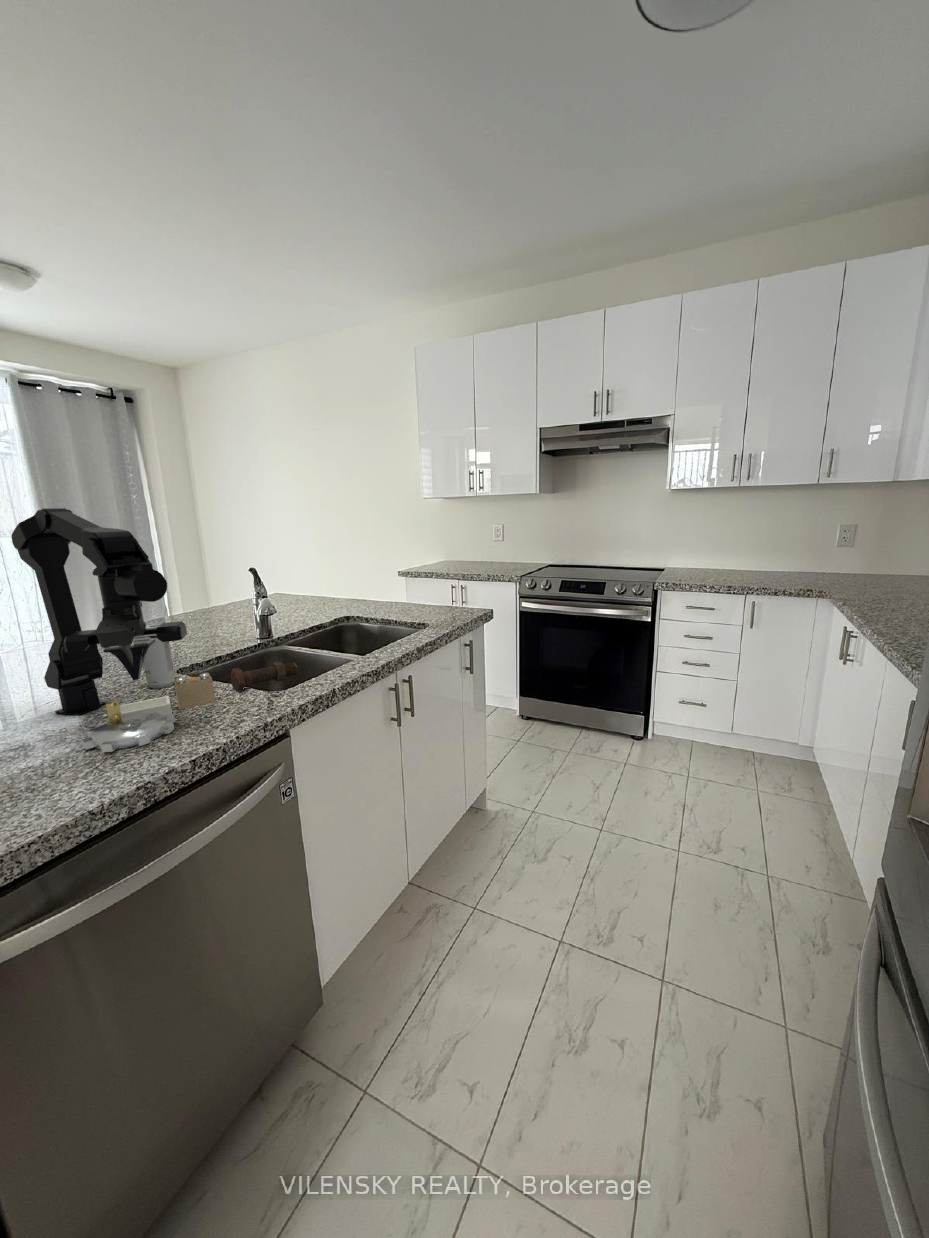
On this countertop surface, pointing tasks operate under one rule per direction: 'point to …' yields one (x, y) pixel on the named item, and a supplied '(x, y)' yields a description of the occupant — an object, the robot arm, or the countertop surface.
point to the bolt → (262, 675)
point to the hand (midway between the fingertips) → (136, 679)
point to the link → (194, 691)
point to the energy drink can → (158, 663)
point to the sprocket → (127, 729)
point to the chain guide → (147, 707)
